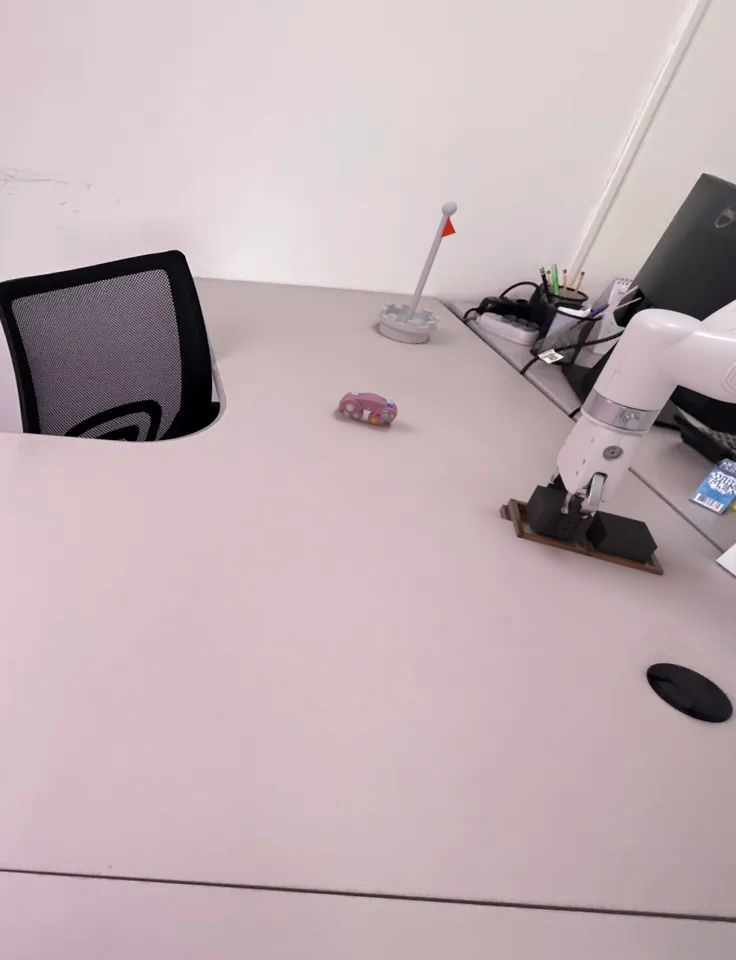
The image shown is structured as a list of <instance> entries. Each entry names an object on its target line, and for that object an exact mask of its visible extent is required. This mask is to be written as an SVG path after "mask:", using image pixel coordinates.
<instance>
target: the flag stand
mask: <svg viewBox="0 0 736 960" xmlns="http://www.w3.org/2000/svg"><path fill="white" fill-rule="evenodd" d="M457 211H458V205H457V203H456V202H455V201H451V200H449V201H447V202H445V203H443V205H442V207H441V213H442V217H441V220H440V223H439V225H438V228H437V230H436V233H435V236H434V238H433V242H432V244H431V246H430V250H429V252H428V255H427V257H426V260H425V263H424V265H423V269H422V271H421V274H420V277H419V280H418V282H417V284H416V288H415V291H414V293H413V296H412V299H411V301H410V303H405V302H402V303H401V306H399V307H398V306H397V305H396V303H395V302H386V303H385V304H384V305H381V308H380V310H379V313H378V319H379V320H380V325H379V327H378V332H380V334H382V335H383V336H385V337H387V338H389V339H391V340H394V341H397V342H400V341H401V343H406V344H413V343H414V344H415V343H419V344H424V343H426V342H427V341H428V338H429V337H430V334H431V333H434V332H435V331H436V330H437V329H438V326H439V323H440V321H441V317H440V315H433V313H434V311H432V310H430V309H428V308H425V307H423V308H421V310H420V311H419V310H417V307H418V304H419V302H420V299H421V296H422V294H423V291H424V288H425V286H426V283H427V281H428V278H429V275H430V272H431V270H432V267H433V264H434V262H435V259H436V257H437V255H438V251H439V249H440V245H441V243H442V240H443V238H445V237H448V236H450V235H454V234H456V230H455V228H454V227H455V226H454V225H453V223H452V220H451V216H453V215H454V214H455V213H457ZM396 306H397V307H396ZM432 315H433V316H432ZM423 342H424V343H423ZM415 345H416V344H415Z"/></svg>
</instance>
